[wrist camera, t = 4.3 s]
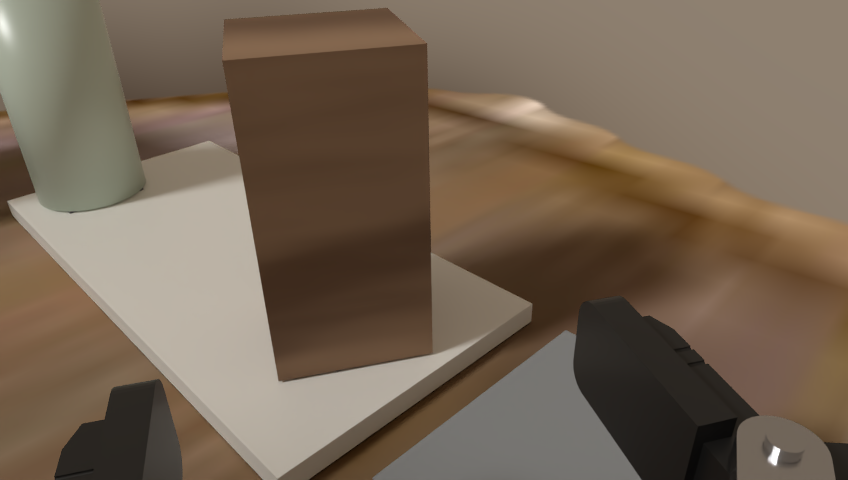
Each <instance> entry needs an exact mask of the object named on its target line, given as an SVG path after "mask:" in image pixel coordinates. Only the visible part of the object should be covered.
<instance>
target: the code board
mask: <svg viewBox="0 0 848 480" xmlns="http://www.w3.org/2000/svg"><path fill="white" fill-rule="evenodd" d="M141 163H142V167H143V171H144V175H145V179H146V183H145V185H144V187H143V188H142V189H141V190H140V191H139V192H137V193H136V194H134V195H133V196H131V197H129V198H127V199H125V200H123V201H120V202H118V203H115V204H112V205H108V206H105V207H101V208H96V209H91V210H84V211H71V212H67V211H55V210H50V209H47V208H45V207H43V206H42V205H41V204H40V203H39V200H38V198H37V195H36V192H35V193H32V194H29V195H25V196H22V197H19V198H15V199H12V200H9V201H7V203H8V205H9V208H10V211H11V213H12V216H13V217H14V218H15V219H16V220H17V221H18V222H19V223H20V224H21V225H22V226H23V227H24V228H25V229H26V230H27V231H28V232H29V233H30V234H31V236H32V237H33V238H34V239H35V240H36V241H37V242H38V243H39V244H40V245H41V246H42V247H43V248H44V249H45V250H46V251H47V252H48V253H49V255H50V256H51V257H52V258H53V259H54V260H55V261H56V262H57V263H58V264H59V265H60V266H61V267H62V268H63V269H64V270H65V271H66V272H67V273H68V275H69V276H70V277H71V278H72V279H73V280H74V281H75V282H76V283H77V284H78V285H79V286H80V287H81V288H82V289H83V290H84V291H85V292H86V294H87V295H88V296H89V297H90V298H91V299H92V300H93V301H94V302H95V303H96V304H97V305H98V306H99V307H100V308H101V309H102V310H103V311H104V312H105V314H106V315H107V316H108V317H109V318H110V319H111V320H112V321H113V322H114V323H115V324H116V325H117V326H118V327H119V328H120V329H121V330H122V331H123V332H124V334H125V335H126V336H127V337H128V338H129V339H130V340H131V341H132V342H133V343H134V344H135V345H136V346H137V347H138V348H139V349H140V350H141V351H142V353H143V354H144V355H145V356H146V357H147V358H148V359H149V360H150V361H151V362H152V363H153V364H154V365H155V366H156V367H157V368H158V369H159V370H160V371H161V373H162V374H163V375H164V376H165V377H166V378H167V379H168V380H169V381H170V382H171V383H172V384H173V385H174V386H175V387H176V388H177V389H178V390H179V392H180V393H181V394H182V395H183V396H184V397H185V398H186V399H187V400H188V401H189V402H190V403H191V404H192V405H193V406H194V407H195V408H196V409H197V410H198V412H199V413H200V414H201V415H202V416H203V417H204V418H205V419H206V420H207V421H208V422H209V423H210V424H211V425H212V426H213V427H214V428H215V429H216V430H217V432H218V433H219V434H220V435H221V436H222V437H223V438H224V439H225V440H226V441H227V442H228V443H229V444H230V445H231V446H232V447H233V448H234V449H235V451H236V452H237V453H238V454H239V455H240V456H241V457H242V458H243V459H244V460H245V461H246V462H247V463H248V464H249V465H250V466H251V467H252V468H253V469H254V471H255V472H256V473H257V474H258V475H259V476H260V477H261V478H262V479H263V480H309V479H310V478H312V477H313V476H314V475H316V474H317V473H319V472H320V471H321V470H323V469H324V468H326V467H327V466H328V465H330V464H331V463H333V462H334V461H335V460H337V459H338V458H340V457H341V456H342V455H344V454H345V453H347V452H348V451H350V450H351V449H352V448H354V447H355V446H357V445H358V444H359V443H361V442H362V441H364V440H365V439H366V438H368V437H369V436H371V435H372V434H373V433H375V432H376V431H378V430H379V429H380V428H382V427H383V426H385V425H386V424H387V423H389V422H390V421H392V420H393V419H395V418H396V417H397V416H399V415H400V414H402V413H403V412H404V411H406V410H407V409H409V408H410V407H411V406H413V405H414V404H416V403H417V402H418V401H420V400H421V399H423V398H424V397H425V396H427V395H428V394H430V393H431V392H432V391H434V390H435V389H437V388H438V387H440V386H441V385H442V384H444V383H445V382H447V381H448V380H449V379H451V378H452V377H454V376H455V375H456V374H458V373H459V372H461V371H462V370H463V369H465V368H466V367H468V366H469V365H470V364H472V363H473V362H475V361H476V360H477V359H479V358H480V357H482V356H483V355H485V354H486V353H487V352H489V351H490V350H492V349H493V348H494V347H496V346H497V345H499V344H500V343H501V342H503V341H504V340H506V339H507V338H508V337H510V336H511V335H513V334H514V333H515V332H517V331H518V330H520V329H521V328H522V327H524V326H525V325H527V324H528V323H530V322H531V317H532V303H530V302H528V301H526V300H524V299H522V298H520V297H518V296H516V295H514V294H512V293H510V292H508V291H506V290H504V289H502V288H500V287H498V286H496V285H494V284H492V283H490V282H488V281H486V280H484V279H482V278H480V277H478V276H476V275H474V274H472V273H471V272H469V271H467V270H465V269H463V268H461V267H459V266H457V265H455V264H453V263H451V262H449V261H447V260H445V259H443V258H441V257H439V256H437V255H435V254H433V253H431V286H432V340H433V353H429V354H424V355H418V356H413V357H407V358H402V359H397V360H391V361H386V362H380V363H375V364H369V365H364V366H359V367H353V368H348V369H342V370H337V371H331V372H326V373H321V374H315V375H310V376H304V377H299V378H293V379H288V380H283V381H278V376H277V370H276V364H275V358H274V353H273V347H272V341H271V336H270V330H269V324H268V318H267V313H266V307H265V301H264V296H263V290H262V284H261V278H260V273H259V267H258V261H257V256H256V250H255V244H254V239H253V233H252V227H251V221H250V216H249V210H248V204H247V199H246V193H245V187H244V181H243V176H242V170H241V164H240V159H239V156H238V155H236V154H234V153H232V152H230V151H228V150H227V149H225V148H223V147H221V146H219V145H217V144H215V143H213V142H211V141H207V142H203V143H200V144H197V145H193V146H190V147H187V148H183V149H180V150H176V151H173V152H170V153H166V154H163V155H160V156H156V157H153V158H150V159H146V160H143V161H141Z"/></svg>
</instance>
